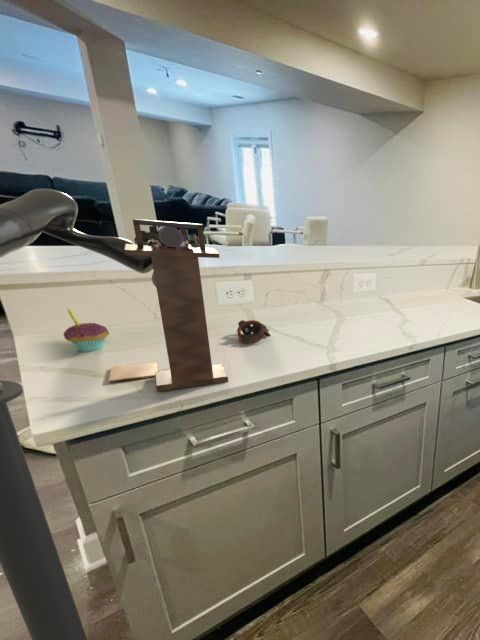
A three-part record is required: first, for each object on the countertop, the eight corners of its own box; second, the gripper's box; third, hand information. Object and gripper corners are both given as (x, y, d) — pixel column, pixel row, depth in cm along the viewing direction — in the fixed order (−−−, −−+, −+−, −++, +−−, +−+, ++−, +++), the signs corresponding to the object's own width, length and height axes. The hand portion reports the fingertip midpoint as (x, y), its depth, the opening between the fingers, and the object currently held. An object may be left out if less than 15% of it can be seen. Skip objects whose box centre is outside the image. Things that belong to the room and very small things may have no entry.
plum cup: (158, 242, 93) (155, 223, 92) (181, 243, 96) (178, 225, 95) (159, 246, 84) (156, 225, 83) (184, 247, 87) (182, 227, 86)
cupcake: (73, 357, 99) (58, 313, 95) (65, 347, 104) (51, 304, 99) (116, 349, 106) (104, 308, 101) (108, 340, 110) (96, 300, 106)
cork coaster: (109, 382, 90) (108, 380, 90) (111, 368, 96) (110, 366, 96) (158, 376, 96) (158, 374, 95) (157, 363, 102) (157, 362, 102)
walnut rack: (151, 392, 88) (118, 220, 75) (150, 377, 94) (120, 216, 81) (232, 381, 98) (216, 227, 85) (227, 368, 104) (211, 223, 91)
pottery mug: (280, 341, 128) (272, 325, 121) (256, 360, 123) (247, 344, 116) (254, 324, 130) (245, 308, 124) (230, 342, 125) (219, 326, 118)
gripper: (205, 270, 107) (208, 246, 94) (138, 269, 98) (130, 242, 85) (201, 244, 108) (203, 217, 94) (133, 241, 99) (125, 210, 85)
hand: (168, 229), depth 90 cm, fingers closed on plum cup, 4 cm apart
